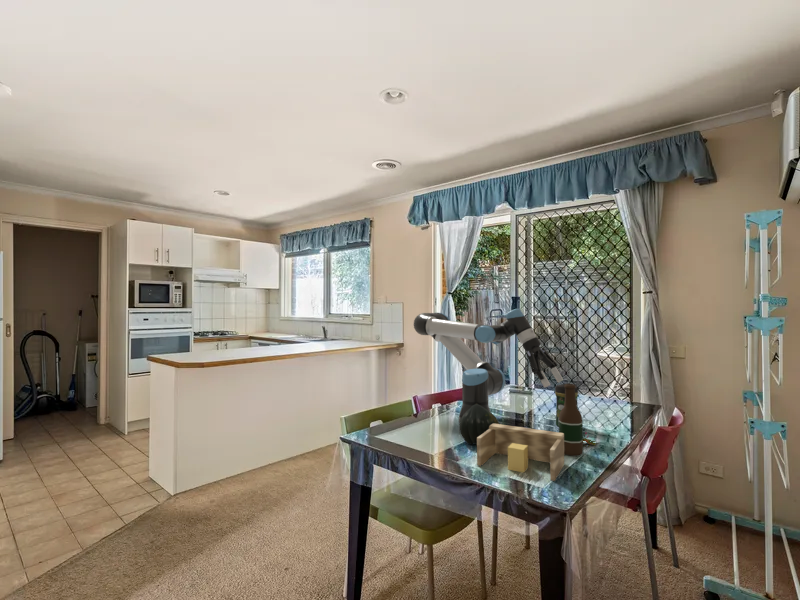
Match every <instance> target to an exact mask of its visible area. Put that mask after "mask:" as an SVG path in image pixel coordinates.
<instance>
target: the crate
mask: <svg viewBox="0 0 800 600" xmlns="http://www.w3.org/2000/svg"><path fill="white" fill-rule="evenodd" d="M512 443H515V444H522V445H528V460H532V461H537V462H543V463H549V465H550V466H549V467H550V468H549V469H550V472H549V473H550V475H549V477H550V481H553V482H555V481H556V479H557V478H558V476H559V474H560V472H561V471H562V469H563V468H564V465H565V454H564V433H559V431H558V432H557V431H549V430H544V429H535V428H529V427H523V426H514V425H508V424H507V425H506V424H501V423H499V424H494V423H493V424H491V425H490V426H489V429H488V430H487V431H486V432H484V433H483V434H481V435H480V436H479V437H477V444H476V466H477V465H479V466H478V467H482V466H483V465H484V464H485V463H486V462H488V461H489V460H490V459H491V458H492V457H493V456H494V455H495V454H498V455H504V456H508V447H509V446H510V445H511V444H512ZM489 458H490V459H489ZM481 465H482V466H481Z"/></svg>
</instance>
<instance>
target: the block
mask: <svg viewBox="0 0 800 600" xmlns="http://www.w3.org/2000/svg"><path fill="white" fill-rule="evenodd" d="M527 469H529V459H528V445H522V444H515V443H512V444H511V445H510V446H509V447H508V455H507V470H509V471H515V472H519V473H525V472H526V471H527Z"/></svg>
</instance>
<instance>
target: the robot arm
mask: <svg viewBox="0 0 800 600" xmlns="http://www.w3.org/2000/svg"><path fill="white" fill-rule="evenodd" d="M505 318H506V320H504V321H503V322H501V323H500V324H495V325H493V324H492V325H489V324H488V325H487V324H477V323H473V322H472V323H471V322H470V323H469V322H462V321H457V320H455V321H454V320H450V318H449V316H447V315H446V314H444V313H442V312H422V313H419V314H418V315H416V317H415V318H414V320H413V328H414V330H415V332H416V333H417V334H419V335H421V336H431V337H432V338H433V340H434V341H436V342H440V344H442V345H443V347H445V348H446V349H447V350H448V351H449V353H451V355H452V356H453V357H454V358H455V359H456V360H457V361H458V362H459V363H460V364H461V366H463V368H465V371H463V372H462V378H461V382H462V384H461V386H462V387H461V388H462V390H461V391H462V393H461V394H462V405H461V407H460V412H459V415H458V422H459V423H460V420H461V418H462V416H463V415H464V414H465V413H466V412H467V411H468V410H469V409H470V408H471V407H472V406H473V405H475V404H478V405H480V406H482V407H483V408H485V409H486V410H488V411H489V412H491V410H490V406H489V405H490V404H489V396H492V395H495V394H496V395H497V394H498V393H500V392H501V391H502V390H503V389H504V388H505V385H506V376H505V373H504V372H503V371H502V370H501V369H500V368H499V369H498V368H496V367H493V366H492V365H491V364H490V363H489V362H488V361H483V360H482V359H481V358H480V357H479V356H478V355H477V354H476V353H475V352H474V351H473V350H472V349H471V348H470V347H469V346H468V345H467V344H466V343H465V341H464V340H470V341H471V340H472V341H478V342H480V343H483V344H484V343H485V344H488V343H491V344H494V345H500V344H501V343H504V342H505V341H506V340H508V339H510V338H511V337H513V336H515V335H516V337H517V338H518V341H519V342H520V344H522V347H523V349H524V351H525V355H526V356H527V359H528V362H529V365H530V369H531V372H532V373H533V375H537V377H538V378H539V380H540V382H541V384H542V386H543V387H544V389H545V388H547V387H549V386H551V383H550V381H549V379H548V378H547V376H546V375H545V373H544V371H543V370H542V369H541V362H543V363H544V364H545V365H546V366H547V367H548V368H550V372H551V373H552V375H553V377H554V378H555V380H556V382H557V383H558V384H559V383H560V382H562V381H564V378H563V377H562V375H561V373H560V371H559V369H558V368H557V367H558V364H557V362H556V360H554V359H553V358H552V356H551V355H550V354H549V353H548V352H547V350H546V349H545V348H544V347H540V346H542V345H541V344H542V343H541V341H540V340H539V338H538V337H537V334H536V333H535V330H534V329H533V328H532V326H531V325H530V323H529V321H528V319H527V318H526V316H525V314H524V313H523V312H522V310H521V309H520V308H515V309H511V310H510V311H508V312H507V313H506V314H505ZM462 339H464V340H462ZM540 361H541V362H540Z"/></svg>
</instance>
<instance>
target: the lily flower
mask: <svg viewBox="0 0 800 600" xmlns="http://www.w3.org/2000/svg"><path fill="white" fill-rule="evenodd" d="M587 434H588V432H586V431H585V432H584V434H583V441H586V442H587V443H588V444H589V446H588V448H589V447H591V446H595V445H597V443H593V442H596V441H595V440H594V441H593V440H592V439H589V435H587ZM586 435H587V436H586ZM590 441H591V442H590ZM584 444H585V442H583V447H585V445H584ZM595 447H596V446H595Z"/></svg>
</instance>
